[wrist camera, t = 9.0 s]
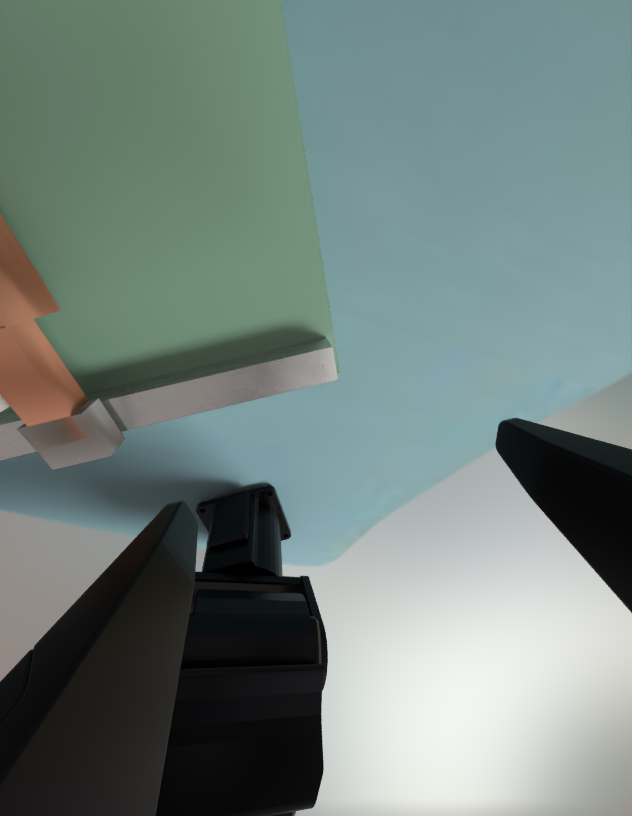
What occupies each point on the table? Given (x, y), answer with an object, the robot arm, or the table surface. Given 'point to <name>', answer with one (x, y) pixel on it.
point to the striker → (44, 371)
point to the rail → (199, 389)
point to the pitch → (159, 182)
